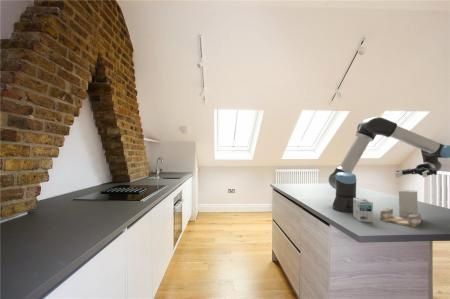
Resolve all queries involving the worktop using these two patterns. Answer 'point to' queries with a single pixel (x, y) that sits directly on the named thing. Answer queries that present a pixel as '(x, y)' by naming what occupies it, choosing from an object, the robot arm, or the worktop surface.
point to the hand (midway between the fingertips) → (409, 175)
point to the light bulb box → (362, 210)
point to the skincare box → (407, 203)
